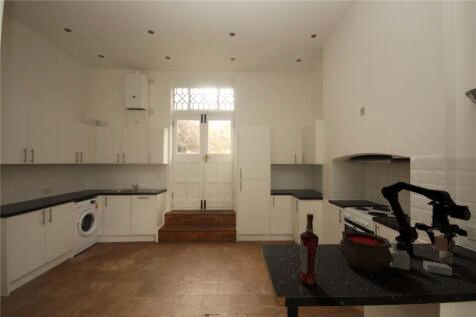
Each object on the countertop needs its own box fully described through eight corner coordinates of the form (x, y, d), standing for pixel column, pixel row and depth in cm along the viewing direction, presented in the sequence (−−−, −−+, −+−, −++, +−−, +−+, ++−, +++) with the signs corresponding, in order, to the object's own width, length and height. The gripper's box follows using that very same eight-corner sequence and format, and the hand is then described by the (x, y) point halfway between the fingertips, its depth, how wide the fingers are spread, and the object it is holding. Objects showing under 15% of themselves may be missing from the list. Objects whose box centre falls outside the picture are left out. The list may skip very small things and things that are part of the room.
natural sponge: (436, 252, 122) (437, 235, 123) (430, 247, 130) (431, 231, 131) (457, 256, 118) (458, 239, 119) (450, 250, 126) (450, 234, 127)
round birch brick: (442, 263, 109) (442, 253, 109) (437, 259, 114) (437, 250, 114) (454, 265, 107) (455, 255, 107) (449, 261, 112) (449, 252, 112)
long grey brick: (427, 271, 100) (427, 264, 100) (423, 267, 104) (423, 260, 104) (451, 276, 96) (452, 268, 96) (446, 271, 101) (446, 264, 101)
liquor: (296, 276, 90) (298, 211, 91) (312, 276, 90) (315, 212, 91) (302, 286, 83) (304, 216, 83) (320, 287, 83) (322, 217, 84)
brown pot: (407, 280, 91) (408, 243, 91) (350, 276, 92) (352, 239, 92) (374, 255, 115) (375, 226, 115) (329, 252, 116) (331, 223, 116)
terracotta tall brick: (435, 249, 104) (435, 237, 105) (431, 246, 109) (431, 235, 109) (447, 251, 103) (447, 239, 103) (442, 248, 107) (443, 236, 107)
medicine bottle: (405, 264, 106) (405, 240, 106) (409, 270, 99) (410, 245, 100) (388, 261, 109) (388, 238, 109) (391, 267, 102) (392, 242, 103)
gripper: (423, 216, 102) (422, 248, 102) (475, 222, 95) (474, 256, 94) (414, 211, 113) (413, 240, 112) (461, 216, 105) (460, 247, 105)
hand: (439, 246), depth 106 cm, fingers closed on terracotta tall brick, 4 cm apart
